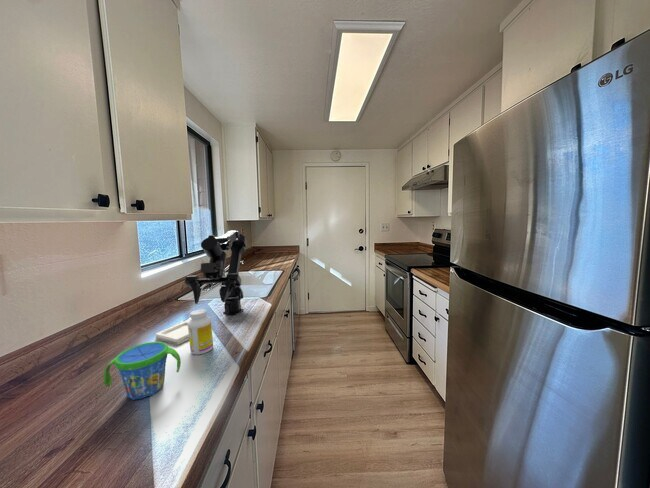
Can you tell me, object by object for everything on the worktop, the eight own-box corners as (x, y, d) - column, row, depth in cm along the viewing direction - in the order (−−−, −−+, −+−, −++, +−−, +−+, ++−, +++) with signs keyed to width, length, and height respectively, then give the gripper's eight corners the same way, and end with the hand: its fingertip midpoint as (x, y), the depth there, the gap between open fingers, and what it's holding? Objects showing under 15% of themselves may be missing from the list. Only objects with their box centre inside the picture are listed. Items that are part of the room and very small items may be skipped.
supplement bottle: (217, 344, 84) (214, 308, 83) (206, 355, 77) (202, 315, 76) (198, 344, 85) (195, 308, 83) (185, 355, 78) (181, 315, 77)
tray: (186, 325, 101) (186, 320, 101) (207, 330, 96) (207, 325, 95) (156, 339, 90) (155, 333, 90) (177, 345, 85) (176, 339, 85)
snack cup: (187, 372, 69) (184, 337, 68) (173, 398, 59) (169, 357, 58) (122, 382, 66) (117, 346, 65) (96, 412, 56) (89, 369, 54)
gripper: (182, 254, 89) (171, 295, 80) (236, 251, 90) (230, 291, 81) (195, 269, 98) (185, 307, 89) (243, 267, 99) (239, 304, 91)
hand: (209, 302), depth 87 cm, fingers open, 9 cm apart
